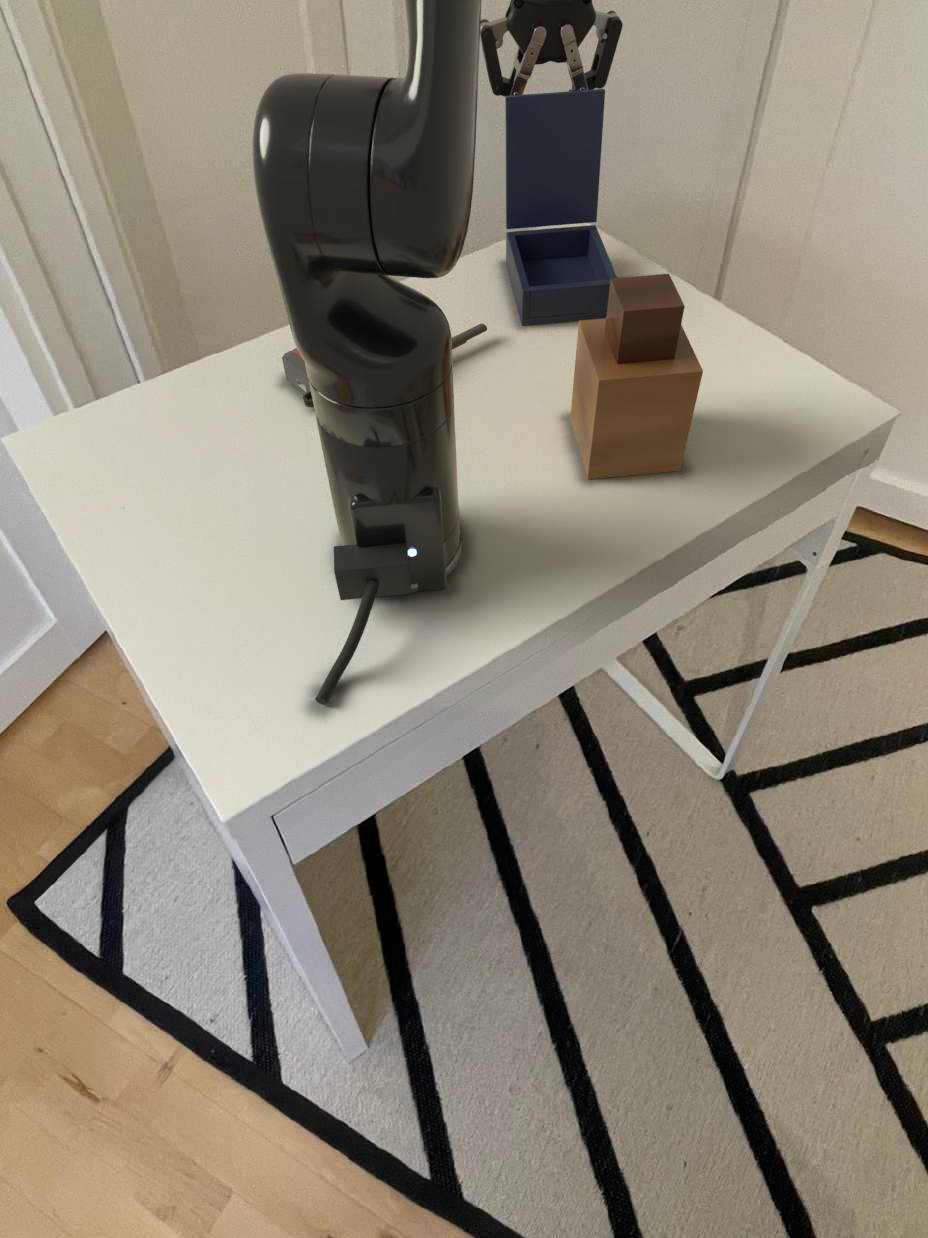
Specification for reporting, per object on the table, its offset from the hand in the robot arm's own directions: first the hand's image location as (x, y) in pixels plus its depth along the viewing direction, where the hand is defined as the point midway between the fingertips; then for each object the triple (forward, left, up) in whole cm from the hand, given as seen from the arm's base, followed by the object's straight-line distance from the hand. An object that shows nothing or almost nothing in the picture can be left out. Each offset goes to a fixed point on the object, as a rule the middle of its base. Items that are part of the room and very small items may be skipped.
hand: (545, 133), depth 89 cm
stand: (-37, -1, -11) cm, 38 cm away
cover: (-6, 0, 0) cm, 6 cm away
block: (-37, -1, -1) cm, 37 cm away
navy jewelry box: (-12, 0, -11) cm, 16 cm away
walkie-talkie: (-22, +19, -11) cm, 31 cm away
